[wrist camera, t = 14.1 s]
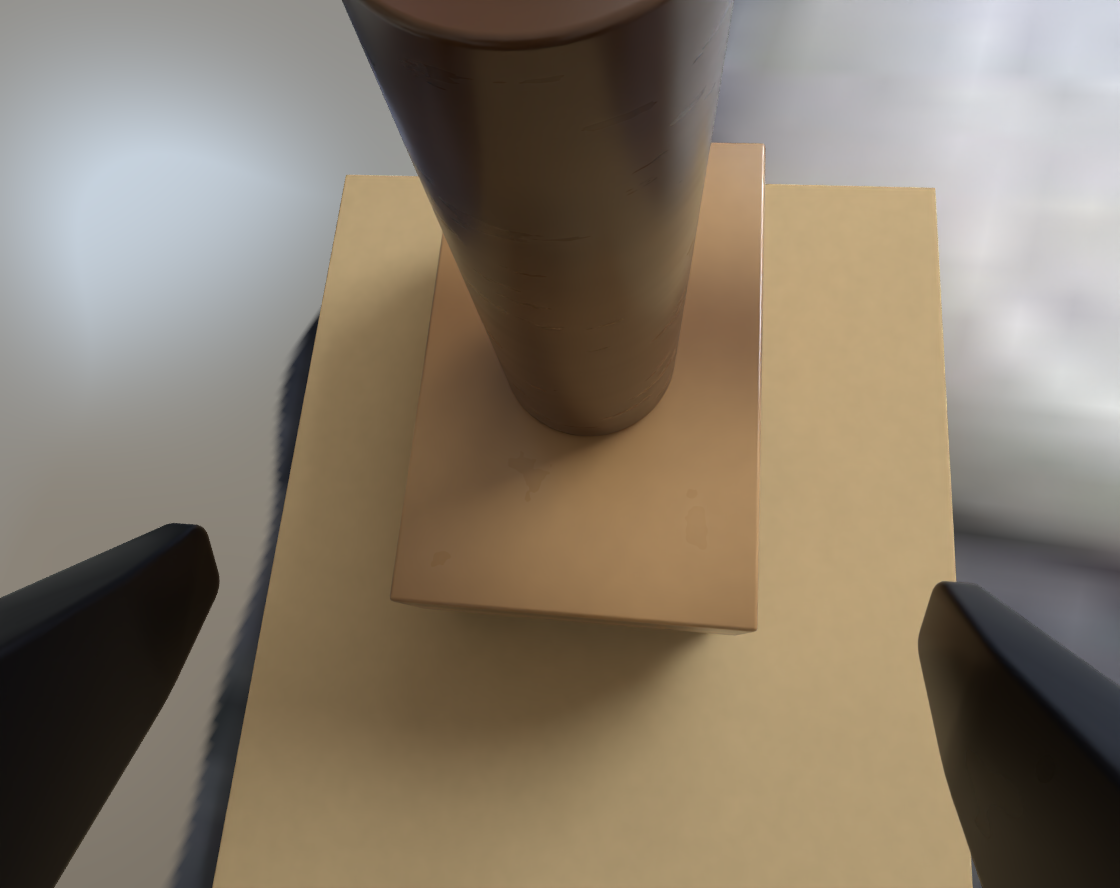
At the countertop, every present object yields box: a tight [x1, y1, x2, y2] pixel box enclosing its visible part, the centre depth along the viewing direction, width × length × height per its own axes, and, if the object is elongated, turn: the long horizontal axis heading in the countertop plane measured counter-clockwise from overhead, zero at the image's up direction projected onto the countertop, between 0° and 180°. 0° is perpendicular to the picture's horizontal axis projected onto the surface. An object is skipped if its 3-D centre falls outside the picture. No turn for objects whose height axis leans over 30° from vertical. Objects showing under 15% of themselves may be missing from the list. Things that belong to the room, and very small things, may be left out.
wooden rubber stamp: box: [342, 0, 766, 636], centre depth 11 cm, size 9×6×12 cm, turn 175°
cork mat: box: [212, 175, 973, 888], centre depth 15 cm, size 22×14×1 cm, turn 175°
